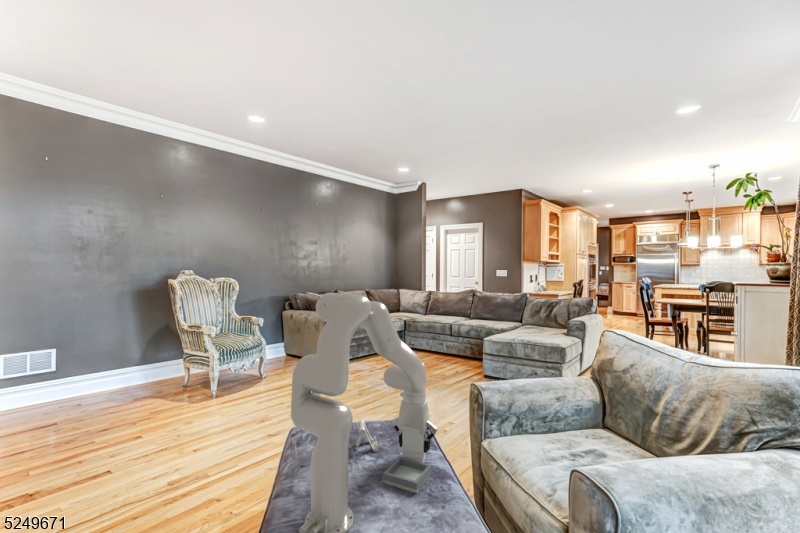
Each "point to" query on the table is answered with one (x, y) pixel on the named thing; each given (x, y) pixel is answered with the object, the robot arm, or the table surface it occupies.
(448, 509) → the table surface
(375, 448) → the portable electronic device stand
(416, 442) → the supplement box
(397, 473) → the tray
